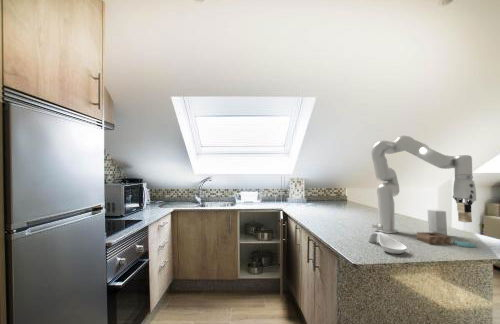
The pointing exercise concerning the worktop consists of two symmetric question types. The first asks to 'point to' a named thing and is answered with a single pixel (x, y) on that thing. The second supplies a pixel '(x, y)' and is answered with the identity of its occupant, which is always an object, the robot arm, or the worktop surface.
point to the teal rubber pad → (464, 244)
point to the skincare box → (437, 221)
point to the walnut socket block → (433, 238)
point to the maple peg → (463, 213)
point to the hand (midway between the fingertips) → (464, 211)
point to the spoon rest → (388, 243)
